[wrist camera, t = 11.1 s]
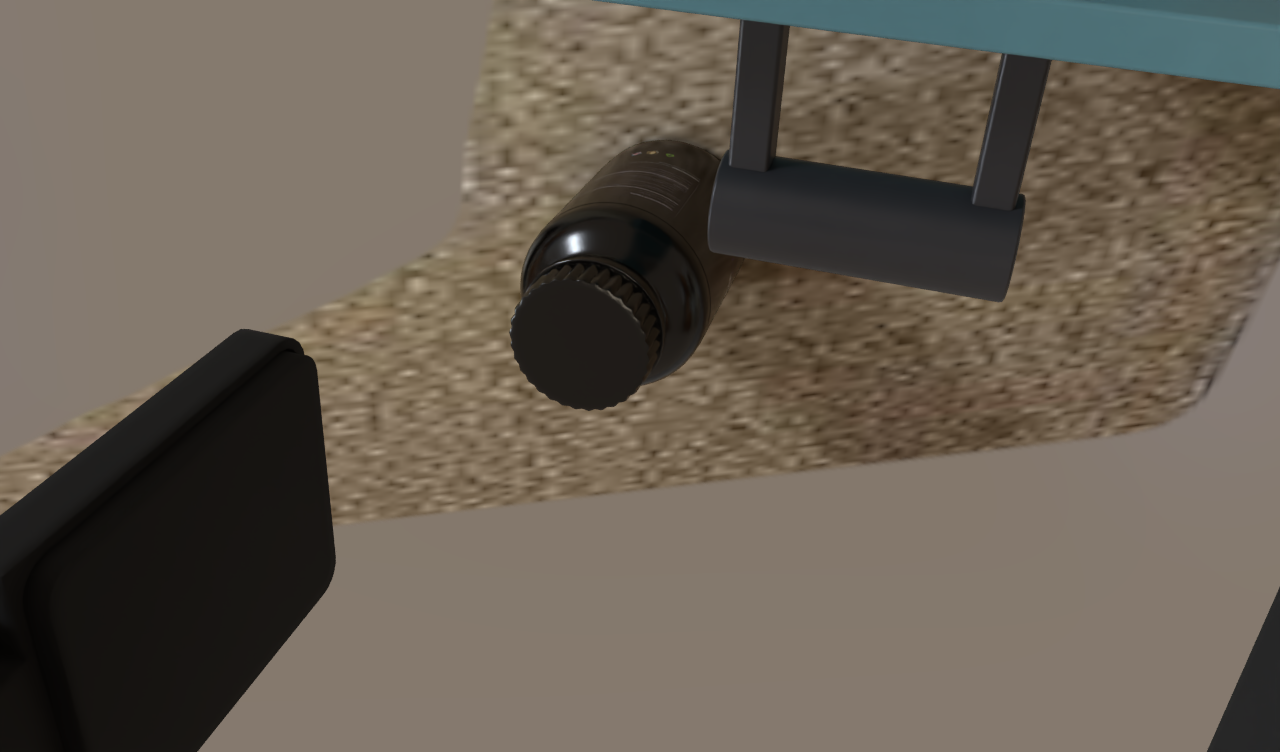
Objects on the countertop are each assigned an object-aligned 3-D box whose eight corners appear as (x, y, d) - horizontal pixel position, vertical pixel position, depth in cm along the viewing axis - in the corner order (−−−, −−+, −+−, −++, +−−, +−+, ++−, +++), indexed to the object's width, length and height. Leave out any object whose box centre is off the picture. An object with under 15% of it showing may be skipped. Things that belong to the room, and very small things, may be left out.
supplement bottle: (759, 296, 48) (685, 451, 38) (601, 288, 50) (492, 433, 40) (753, 133, 45) (671, 255, 35) (585, 131, 47) (462, 246, 37)
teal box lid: (450, -73, 17) (469, 267, 20) (1418, 42, 14) (1260, 414, 17) (717, -228, 30) (703, -7, 33) (1248, -185, 27) (1175, 52, 30)
